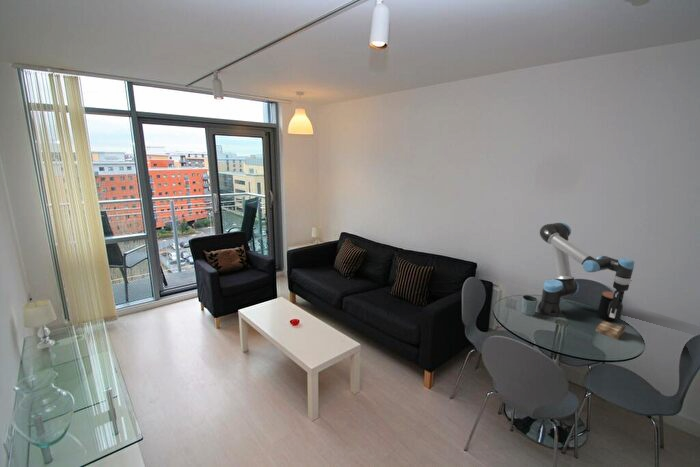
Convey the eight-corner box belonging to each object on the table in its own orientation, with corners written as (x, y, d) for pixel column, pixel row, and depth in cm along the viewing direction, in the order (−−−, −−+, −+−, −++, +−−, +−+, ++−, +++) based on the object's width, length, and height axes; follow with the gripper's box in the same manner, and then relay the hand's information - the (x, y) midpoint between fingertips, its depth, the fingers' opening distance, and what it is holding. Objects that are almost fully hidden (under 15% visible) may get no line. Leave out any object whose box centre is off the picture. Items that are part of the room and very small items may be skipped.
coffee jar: (616, 323, 220) (622, 299, 215) (596, 318, 226) (602, 295, 221) (615, 316, 228) (621, 294, 223) (597, 312, 234) (602, 289, 229)
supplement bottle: (607, 312, 212) (611, 295, 209) (620, 315, 208) (624, 298, 205) (606, 316, 207) (610, 299, 204) (620, 320, 203) (624, 302, 199)
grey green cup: (538, 316, 230) (541, 301, 226) (524, 316, 230) (526, 301, 227) (531, 309, 240) (533, 294, 236) (517, 309, 240) (519, 294, 236)
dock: (595, 331, 212) (596, 324, 210) (602, 324, 219) (603, 317, 218) (617, 339, 202) (619, 332, 201) (624, 332, 210) (625, 325, 208)
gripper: (624, 289, 192) (616, 323, 199) (633, 280, 204) (625, 312, 210) (609, 284, 198) (601, 318, 204) (619, 276, 210) (611, 308, 216)
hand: (613, 315), depth 207 cm, fingers closed on supplement bottle, 7 cm apart
